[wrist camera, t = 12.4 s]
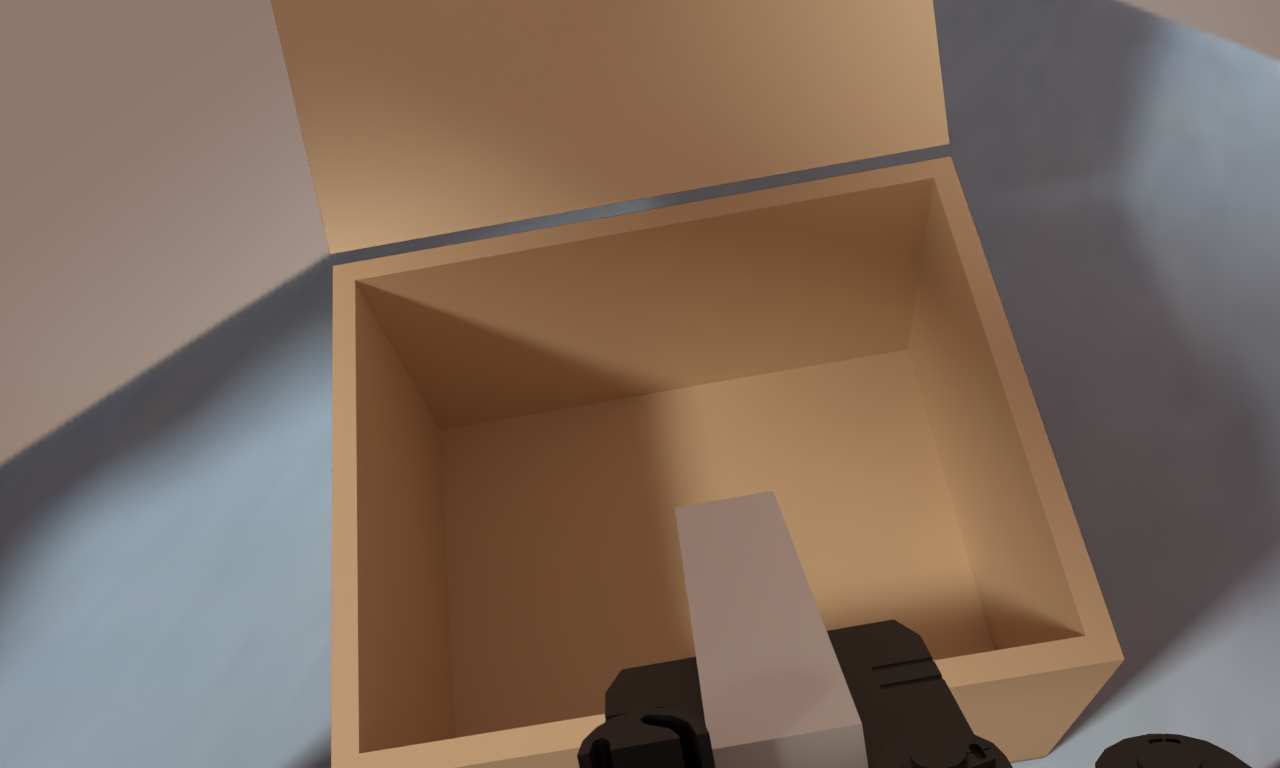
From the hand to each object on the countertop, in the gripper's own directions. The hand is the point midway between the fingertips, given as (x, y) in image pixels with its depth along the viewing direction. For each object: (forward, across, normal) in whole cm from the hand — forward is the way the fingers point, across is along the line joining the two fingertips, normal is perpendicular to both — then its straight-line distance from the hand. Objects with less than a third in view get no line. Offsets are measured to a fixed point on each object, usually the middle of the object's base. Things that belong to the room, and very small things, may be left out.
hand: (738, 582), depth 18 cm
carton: (+27, 0, -12) cm, 30 cm away
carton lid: (+25, 0, +12) cm, 28 cm away
